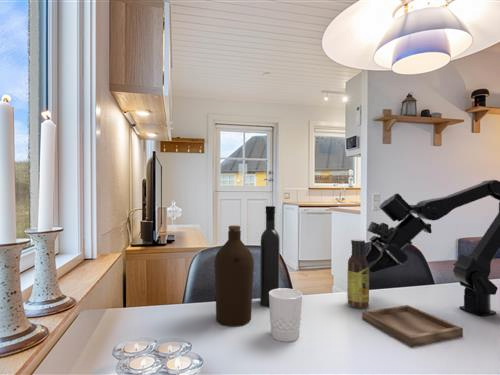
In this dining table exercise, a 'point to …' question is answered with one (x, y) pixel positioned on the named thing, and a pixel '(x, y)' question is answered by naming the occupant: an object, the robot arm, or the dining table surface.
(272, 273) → the wine bottle
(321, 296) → the dining table surface
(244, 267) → the olive oil
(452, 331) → the walnut tray
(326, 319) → the dining table surface
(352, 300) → the sauce bottle
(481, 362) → the dining table surface
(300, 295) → the white cup
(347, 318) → the dining table surface
